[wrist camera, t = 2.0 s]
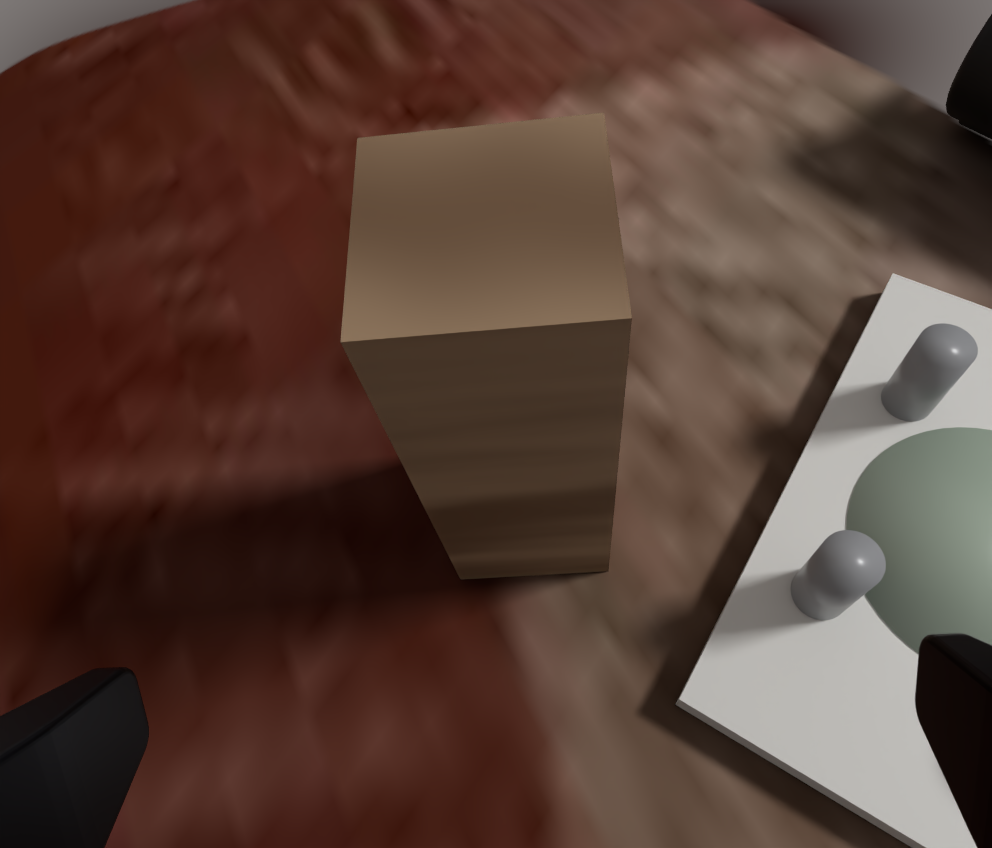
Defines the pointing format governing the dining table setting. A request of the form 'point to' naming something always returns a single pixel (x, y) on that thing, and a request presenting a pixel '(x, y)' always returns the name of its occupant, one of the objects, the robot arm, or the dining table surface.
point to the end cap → (974, 86)
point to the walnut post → (496, 334)
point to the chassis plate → (868, 572)
